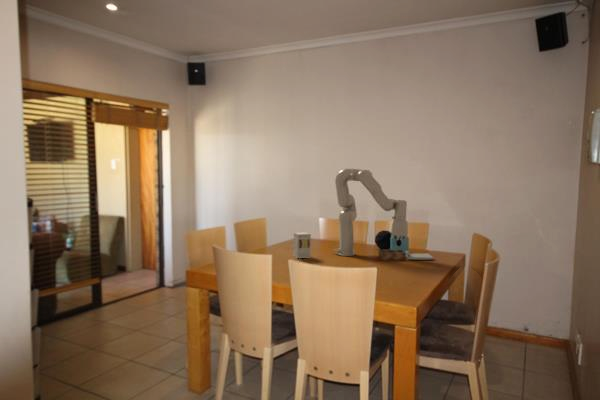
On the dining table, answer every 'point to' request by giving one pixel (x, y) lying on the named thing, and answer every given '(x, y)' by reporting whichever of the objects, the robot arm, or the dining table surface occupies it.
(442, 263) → the dining table surface
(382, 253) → the box
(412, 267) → the dining table surface
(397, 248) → the data package
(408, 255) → the cover plate
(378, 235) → the decorative orb
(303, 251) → the supplement box
